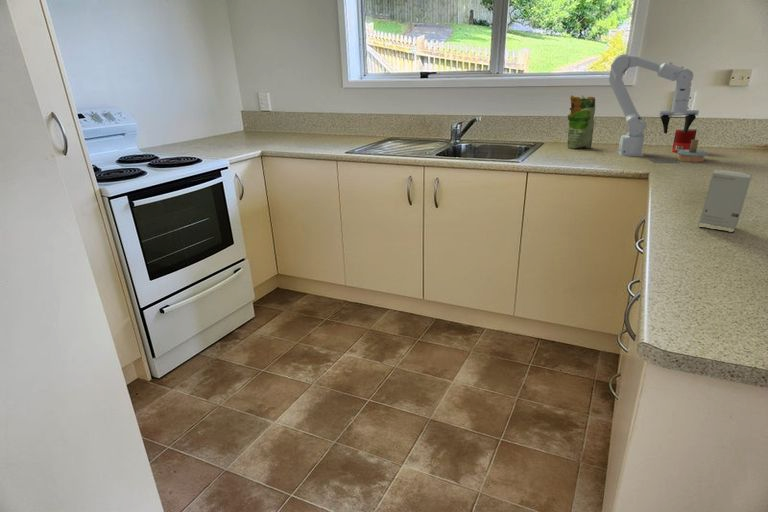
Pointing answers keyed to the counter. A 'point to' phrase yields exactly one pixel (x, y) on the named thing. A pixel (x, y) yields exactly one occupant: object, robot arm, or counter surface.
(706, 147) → the counter surface
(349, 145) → the counter surface
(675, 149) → the canned food
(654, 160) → the mat
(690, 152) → the lid
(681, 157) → the bowl
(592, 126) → the pouch
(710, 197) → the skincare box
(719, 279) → the counter surface
